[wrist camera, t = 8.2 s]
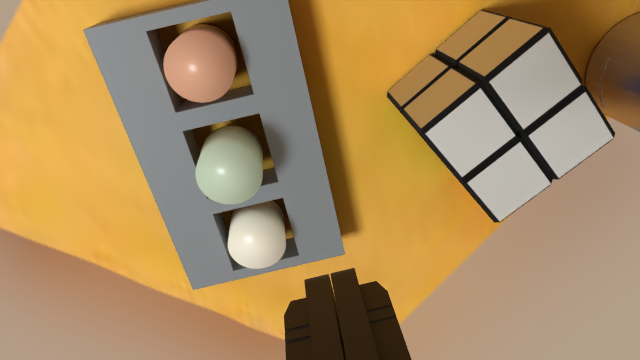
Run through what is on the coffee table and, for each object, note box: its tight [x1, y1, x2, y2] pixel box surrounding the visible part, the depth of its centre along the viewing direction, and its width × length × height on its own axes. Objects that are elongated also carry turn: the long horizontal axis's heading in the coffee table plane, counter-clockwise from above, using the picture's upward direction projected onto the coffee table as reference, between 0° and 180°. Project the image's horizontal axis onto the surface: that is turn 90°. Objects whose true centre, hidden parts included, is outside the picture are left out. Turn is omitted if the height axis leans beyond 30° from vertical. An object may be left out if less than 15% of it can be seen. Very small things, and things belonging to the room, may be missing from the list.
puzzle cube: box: [387, 10, 615, 222], centre depth 36 cm, size 10×10×10 cm
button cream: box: [228, 200, 286, 269], centre depth 41 cm, size 5×5×4 cm
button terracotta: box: [163, 24, 238, 103], centre depth 34 cm, size 5×5×4 cm
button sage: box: [195, 126, 263, 204], centre depth 36 cm, size 5×5×4 cm
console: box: [83, 0, 345, 290], centre depth 38 cm, size 14×23×3 cm, turn 12°
